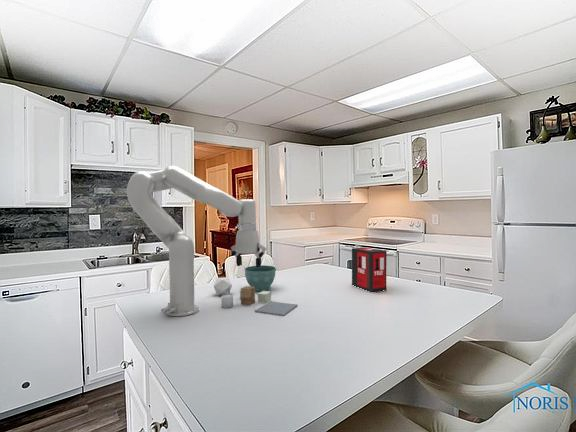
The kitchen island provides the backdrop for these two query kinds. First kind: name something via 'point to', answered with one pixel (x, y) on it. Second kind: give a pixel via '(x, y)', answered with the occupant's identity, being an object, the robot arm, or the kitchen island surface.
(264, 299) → the sage block
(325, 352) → the kitchen island surface
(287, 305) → the slate mat
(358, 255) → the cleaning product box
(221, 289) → the die
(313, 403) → the kitchen island surface
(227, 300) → the grey rounded piece
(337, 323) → the kitchen island surface
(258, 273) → the flower pot
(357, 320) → the kitchen island surface
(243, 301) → the walnut block
